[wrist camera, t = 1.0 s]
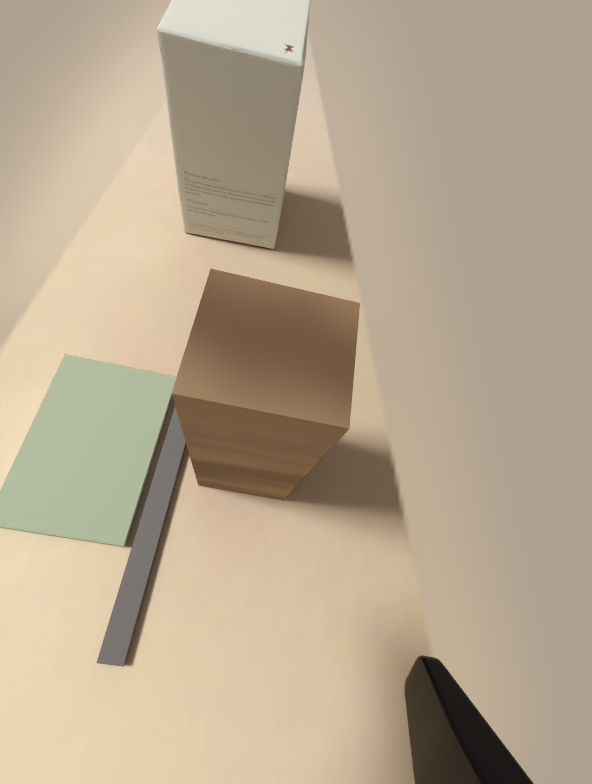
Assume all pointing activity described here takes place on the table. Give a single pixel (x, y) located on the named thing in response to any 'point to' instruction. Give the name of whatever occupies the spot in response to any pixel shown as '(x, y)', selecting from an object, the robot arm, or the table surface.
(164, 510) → the charcoal strip
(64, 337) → the table surface
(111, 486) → the mat
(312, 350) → the walnut post
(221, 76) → the supplement box
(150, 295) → the table surface
